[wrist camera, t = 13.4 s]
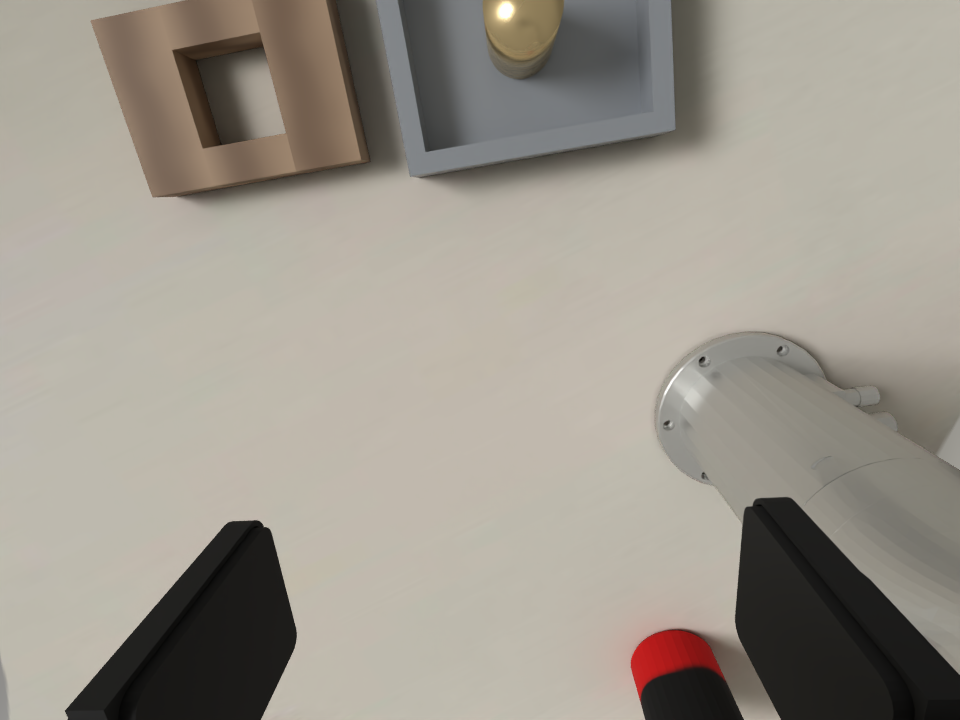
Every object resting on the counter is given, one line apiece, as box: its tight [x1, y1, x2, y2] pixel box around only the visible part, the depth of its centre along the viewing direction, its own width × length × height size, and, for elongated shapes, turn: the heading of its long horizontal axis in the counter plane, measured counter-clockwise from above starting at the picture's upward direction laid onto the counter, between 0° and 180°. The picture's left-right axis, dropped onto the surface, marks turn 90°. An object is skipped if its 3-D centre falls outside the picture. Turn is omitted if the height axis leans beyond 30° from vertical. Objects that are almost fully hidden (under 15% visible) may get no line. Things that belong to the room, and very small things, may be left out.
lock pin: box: [483, 0, 564, 79], centre depth 28 cm, size 4×4×6 cm
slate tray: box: [376, 0, 676, 178], centre depth 30 cm, size 16×13×4 cm
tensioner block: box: [91, 0, 370, 197], centre depth 32 cm, size 14×10×2 cm
